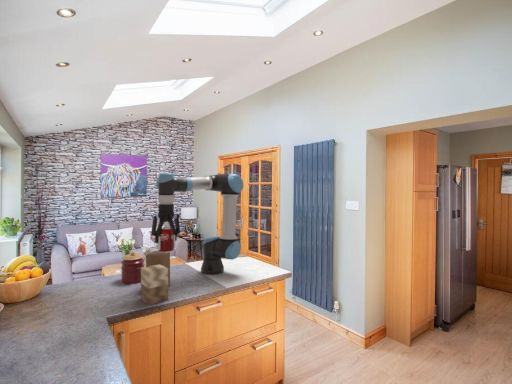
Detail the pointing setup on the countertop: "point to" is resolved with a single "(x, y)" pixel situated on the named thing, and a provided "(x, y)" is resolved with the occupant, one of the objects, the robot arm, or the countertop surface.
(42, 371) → the countertop surface
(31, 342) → the countertop surface
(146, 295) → the tower base
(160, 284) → the tower top
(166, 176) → the robot arm
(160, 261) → the block
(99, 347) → the countertop surface
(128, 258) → the canister
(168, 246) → the soda can
